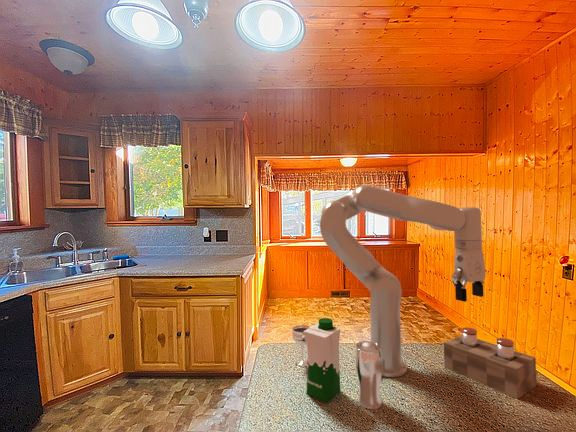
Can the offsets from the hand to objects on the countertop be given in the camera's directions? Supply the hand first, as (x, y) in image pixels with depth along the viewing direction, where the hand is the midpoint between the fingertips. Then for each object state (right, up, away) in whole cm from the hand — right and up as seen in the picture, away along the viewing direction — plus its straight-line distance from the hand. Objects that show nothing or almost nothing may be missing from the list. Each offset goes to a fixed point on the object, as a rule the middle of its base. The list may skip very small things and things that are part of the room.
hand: (469, 298), depth 93 cm
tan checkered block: (+3, -23, -5) cm, 23 cm away
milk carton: (-49, -24, -11) cm, 56 cm away
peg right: (+5, -18, -9) cm, 21 cm away
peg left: (0, -18, 0) cm, 18 cm away
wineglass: (-54, -24, +5) cm, 59 cm away
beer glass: (-37, -24, -16) cm, 47 cm away
